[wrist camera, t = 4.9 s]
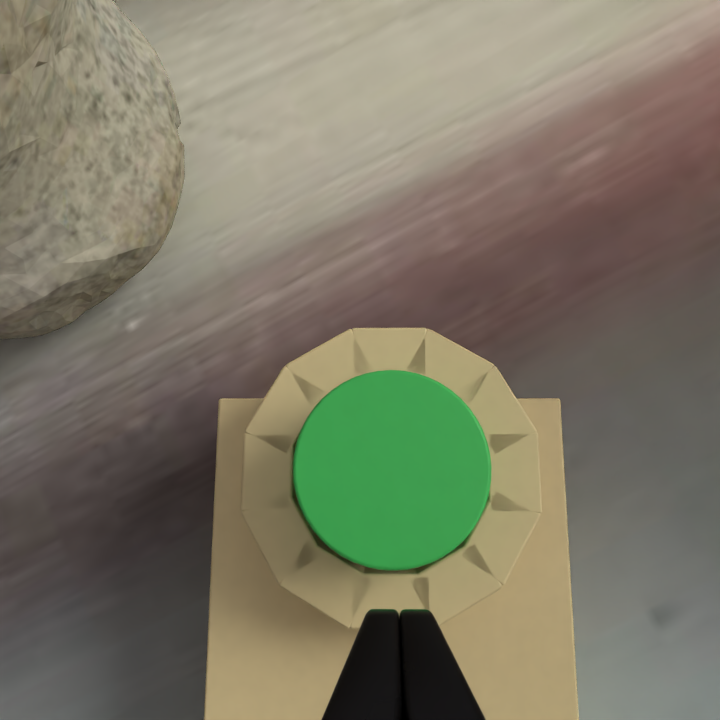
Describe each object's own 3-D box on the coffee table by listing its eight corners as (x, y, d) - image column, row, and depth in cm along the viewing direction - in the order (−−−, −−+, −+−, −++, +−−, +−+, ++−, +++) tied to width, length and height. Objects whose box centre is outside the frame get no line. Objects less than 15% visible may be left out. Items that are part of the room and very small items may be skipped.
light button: (477, 560, 16) (496, 571, 13) (303, 559, 16) (289, 570, 13) (471, 389, 16) (488, 368, 14) (307, 389, 17) (294, 369, 14)
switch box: (546, 836, 19) (619, 982, 13) (232, 831, 20) (170, 972, 14) (524, 373, 22) (577, 326, 16) (249, 373, 22) (204, 327, 16)
